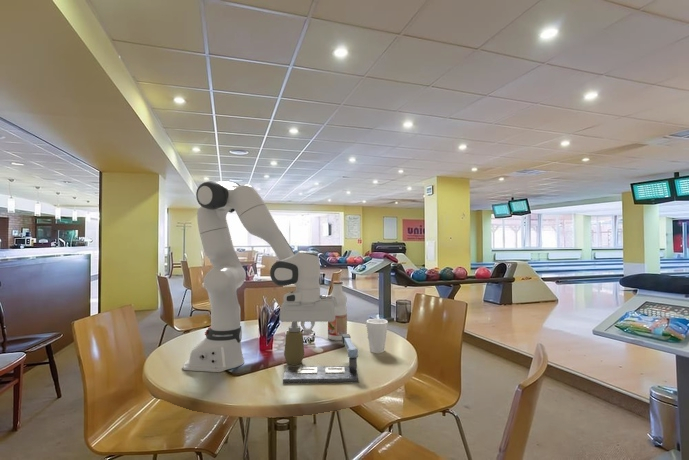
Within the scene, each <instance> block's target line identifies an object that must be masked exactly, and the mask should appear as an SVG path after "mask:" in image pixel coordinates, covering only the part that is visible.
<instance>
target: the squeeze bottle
mask: <svg viewBox="0 0 689 460" xmlns="http://www.w3.org/2000/svg"><path fill="white" fill-rule="evenodd" d="M303 335H304V332H302V331H301V325H298V322H291V325H289V326H288V331H287V332H286V334H285V344H284V353H283V355H284V359H285V362H286V364H287V365H290V366H297V365H300V364H301V363H302V362H303V359H304V357H305V348H304V347H305V346H304V336H303Z"/></svg>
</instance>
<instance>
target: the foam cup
mask: <svg viewBox="0 0 689 460" xmlns="http://www.w3.org/2000/svg"><path fill="white" fill-rule="evenodd" d="M388 322H389V321H388V320H387V319H383V318H382V319H381V318H370V319H367V320H366V321H365V323H366V324H365V325H366V326H365V327H366V331H367V332H366V333H367V339H368V347H369V352H371V353H374V354H382V353H384V352H385V349H386V348H385V347H386V339H387V332H388V326H389V323H388Z"/></svg>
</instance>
